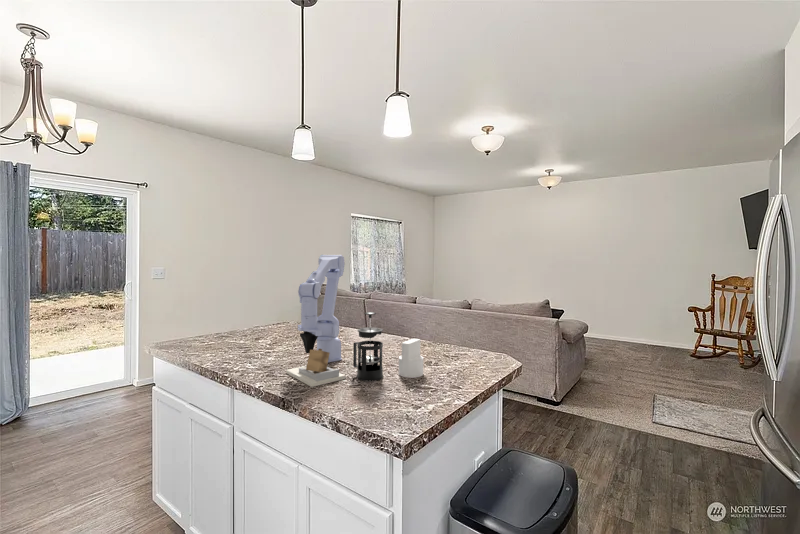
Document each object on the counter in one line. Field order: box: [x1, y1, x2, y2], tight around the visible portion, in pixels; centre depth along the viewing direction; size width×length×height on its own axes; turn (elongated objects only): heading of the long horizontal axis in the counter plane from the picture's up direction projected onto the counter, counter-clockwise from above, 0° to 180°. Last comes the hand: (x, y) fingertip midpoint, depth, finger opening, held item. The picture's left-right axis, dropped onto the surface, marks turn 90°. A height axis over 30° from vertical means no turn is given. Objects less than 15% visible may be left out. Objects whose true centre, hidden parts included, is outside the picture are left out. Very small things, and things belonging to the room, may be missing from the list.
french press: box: [352, 311, 384, 382], centre depth 131 cm, size 12×9×23 cm
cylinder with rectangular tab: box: [398, 338, 424, 379], centre depth 136 cm, size 9×9×12 cm
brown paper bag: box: [306, 349, 329, 372], centre depth 132 cm, size 5×5×8 cm
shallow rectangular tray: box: [285, 365, 346, 388], centre depth 132 cm, size 13×19×4 cm
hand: (309, 352), depth 135 cm, fingers closed
